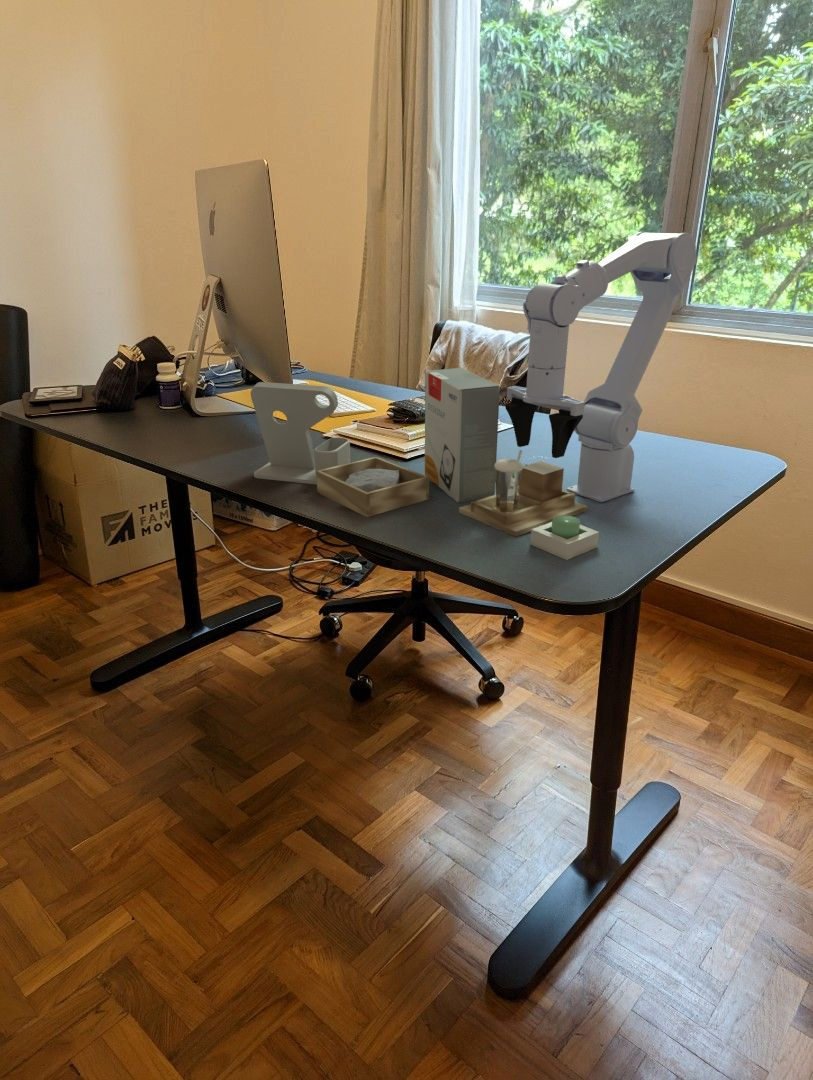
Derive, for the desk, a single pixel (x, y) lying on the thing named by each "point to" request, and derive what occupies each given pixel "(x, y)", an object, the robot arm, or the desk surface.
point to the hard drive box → (461, 433)
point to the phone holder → (296, 431)
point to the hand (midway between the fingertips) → (540, 451)
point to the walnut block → (541, 481)
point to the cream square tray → (564, 541)
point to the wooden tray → (376, 501)
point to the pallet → (523, 512)
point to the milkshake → (508, 483)
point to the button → (565, 526)
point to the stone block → (374, 479)
